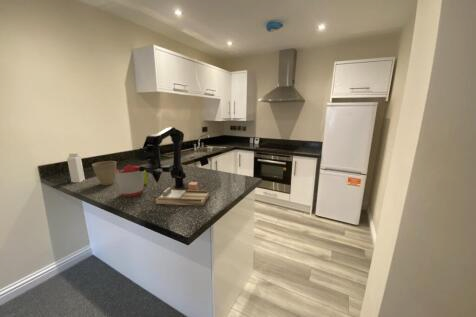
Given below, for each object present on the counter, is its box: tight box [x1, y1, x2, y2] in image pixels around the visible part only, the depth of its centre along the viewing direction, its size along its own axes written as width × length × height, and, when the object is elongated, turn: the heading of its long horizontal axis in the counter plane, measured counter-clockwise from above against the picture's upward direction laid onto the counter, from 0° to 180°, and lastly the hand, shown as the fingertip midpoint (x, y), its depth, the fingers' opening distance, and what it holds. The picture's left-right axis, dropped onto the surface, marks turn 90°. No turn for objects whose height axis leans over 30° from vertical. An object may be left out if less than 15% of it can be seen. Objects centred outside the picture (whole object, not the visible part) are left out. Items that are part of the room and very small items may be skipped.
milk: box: [66, 153, 85, 183], centre depth 150 cm, size 6×6×22 cm
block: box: [187, 181, 199, 190], centre depth 131 cm, size 5×5×6 cm
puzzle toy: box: [143, 171, 148, 185], centre depth 145 cm, size 10×10×10 cm
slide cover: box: [161, 186, 186, 198], centre depth 118 cm, size 11×11×4 cm
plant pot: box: [91, 160, 117, 186], centre depth 145 cm, size 15×15×16 cm
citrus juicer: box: [115, 164, 145, 198], centre depth 126 cm, size 16×17×20 cm
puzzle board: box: [155, 188, 210, 207], centre depth 118 cm, size 14×28×4 cm, turn 84°
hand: (157, 181), depth 118 cm, fingers closed
